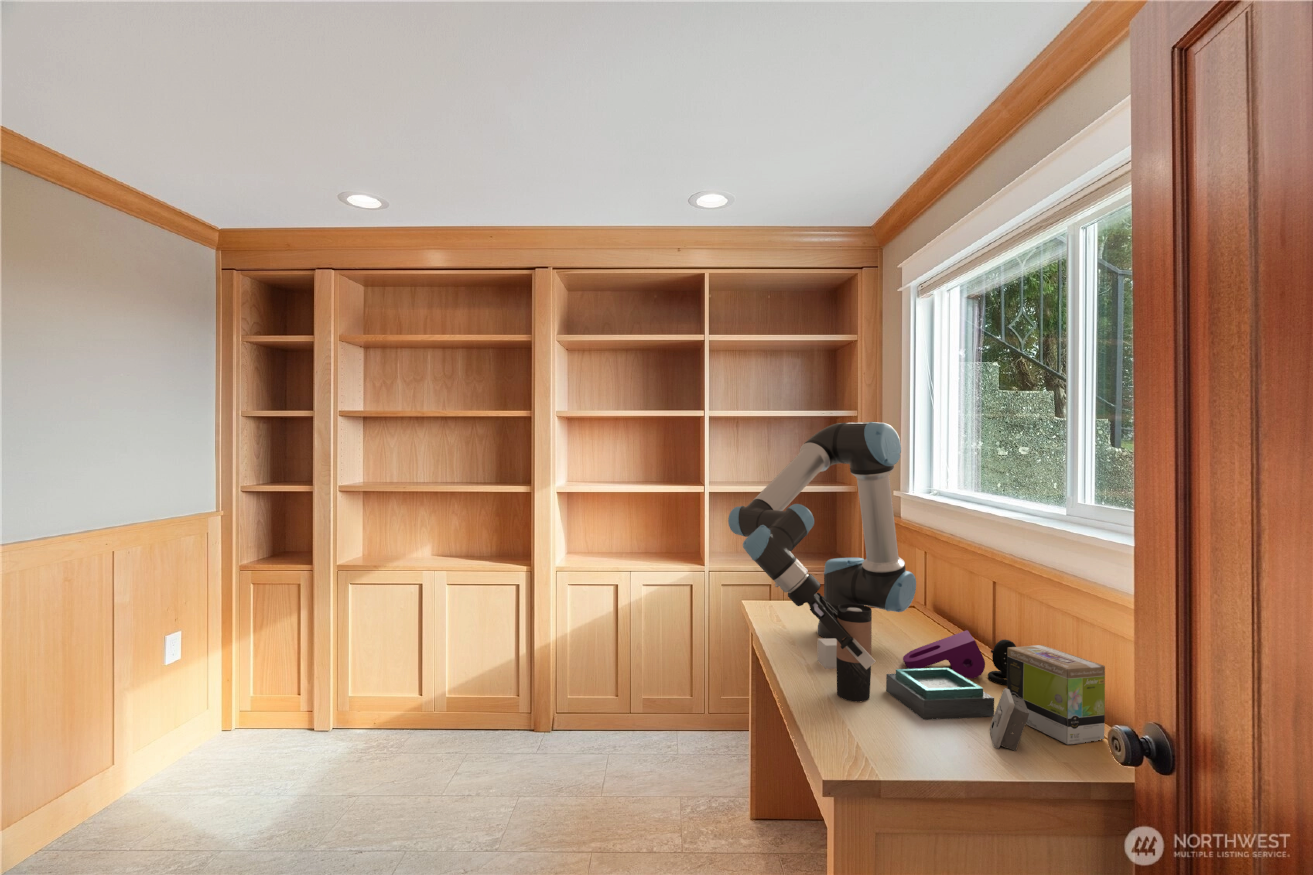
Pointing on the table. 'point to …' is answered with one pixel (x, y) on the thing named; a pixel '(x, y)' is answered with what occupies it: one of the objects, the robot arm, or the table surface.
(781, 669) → the table surface
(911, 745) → the table surface
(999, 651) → the webcam
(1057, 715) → the tea box
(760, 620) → the table surface
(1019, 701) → the electrical switch
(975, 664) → the mounting bracket
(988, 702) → the block with teal frame
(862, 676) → the travel mug
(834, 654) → the light grey cube
